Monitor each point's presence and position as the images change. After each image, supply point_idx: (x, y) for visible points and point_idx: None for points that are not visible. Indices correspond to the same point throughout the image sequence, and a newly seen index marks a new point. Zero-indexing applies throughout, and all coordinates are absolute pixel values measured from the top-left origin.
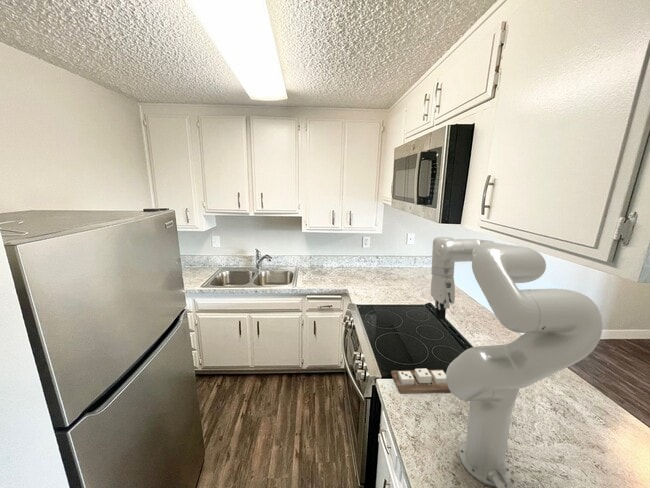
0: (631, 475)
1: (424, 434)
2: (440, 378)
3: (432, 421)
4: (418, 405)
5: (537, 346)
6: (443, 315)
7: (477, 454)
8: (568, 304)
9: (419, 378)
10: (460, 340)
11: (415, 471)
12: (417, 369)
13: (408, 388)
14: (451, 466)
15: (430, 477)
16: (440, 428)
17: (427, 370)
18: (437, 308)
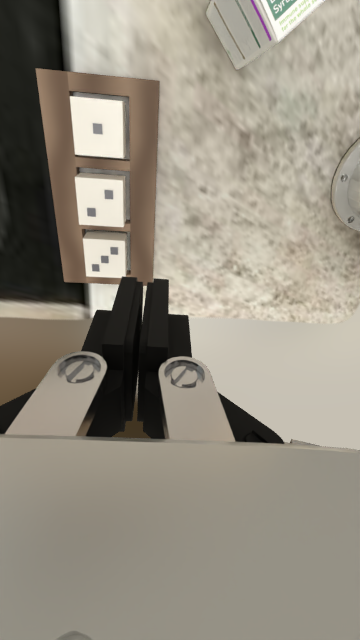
0: None
1: (278, 271)
2: (122, 139)
3: (251, 237)
4: (197, 249)
5: None
6: (187, 332)
7: None
8: None
9: (124, 224)
10: None
11: (335, 317)
12: (83, 216)
13: (146, 260)
14: (355, 253)
15: (354, 298)
16: (274, 228)
17: (87, 179)
18: (125, 415)
